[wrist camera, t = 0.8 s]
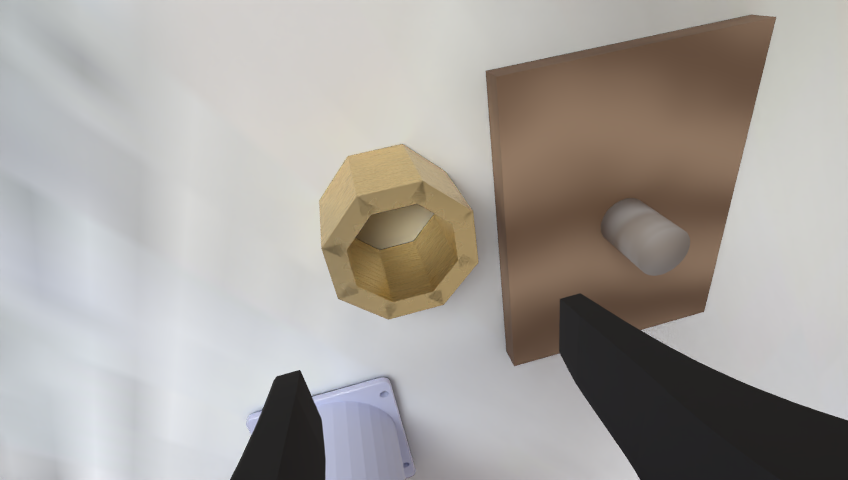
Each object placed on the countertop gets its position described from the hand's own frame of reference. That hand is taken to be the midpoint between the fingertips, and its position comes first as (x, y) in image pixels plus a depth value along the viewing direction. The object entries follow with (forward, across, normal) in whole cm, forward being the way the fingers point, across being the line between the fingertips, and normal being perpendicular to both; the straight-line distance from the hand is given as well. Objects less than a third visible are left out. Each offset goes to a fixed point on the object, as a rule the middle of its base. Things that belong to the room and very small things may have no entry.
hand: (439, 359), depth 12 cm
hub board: (+9, -11, +3) cm, 15 cm away
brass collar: (+9, 0, 0) cm, 9 cm away
